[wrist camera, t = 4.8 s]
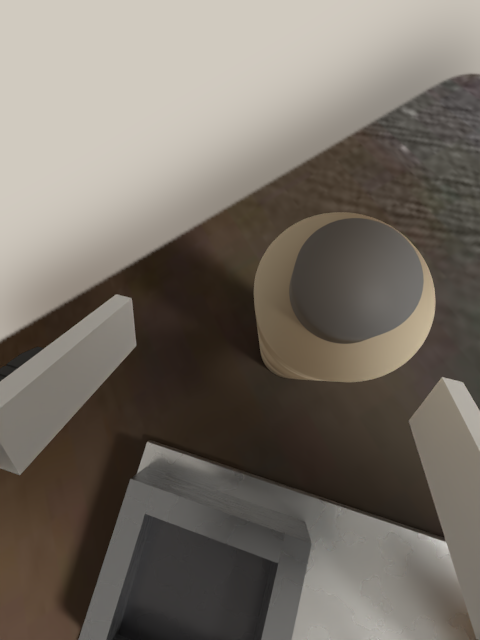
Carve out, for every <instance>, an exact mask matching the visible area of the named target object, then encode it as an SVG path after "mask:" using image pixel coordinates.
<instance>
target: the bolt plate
mask: <svg viewBox="0 0 480 640" xmlns="http://www.w3.org/2000/svg"><path fill="white" fill-rule="evenodd" d="M78 640H478V639H476V636H475V633H474V630H473V627H472V624H471V620H470V617H469V614H468V611H467V607H466V604H465V601H464V598H463V595H462V591H461V588H460V585H459V582H458V578H457V575H456V572H455V569H454V566H453V562H452V559H451V556H450V553H449V549H448V546H447V543H446V540H445V538H443V537H440V536H437V535H434V534H431V533H428V532H425V531H422V530H419V529H416V528H413V527H410V526H407V525H404V524H401V523H398V522H395V521H392V520H389V519H386V518H383V517H380V516H377V515H374V514H371V513H368V512H365V511H362V510H359V509H356V508H353V507H350V506H347V505H344V504H341V503H338V502H335V501H332V500H329V499H326V498H323V497H320V496H317V495H314V494H311V493H308V492H305V491H302V490H299V489H296V488H293V487H290V486H287V485H284V484H281V483H278V482H275V481H272V480H269V479H266V478H263V477H260V476H257V475H254V474H251V473H248V472H245V471H242V470H239V469H236V468H233V467H230V466H227V465H224V464H221V463H218V462H215V461H212V460H209V459H206V458H203V457H200V456H197V455H194V454H191V453H188V452H185V451H182V450H179V449H176V448H173V447H170V446H167V445H164V444H161V443H158V442H155V441H152V440H149V441H148V442H147V444H146V447H145V450H144V453H143V456H142V459H141V462H140V466H139V469H138V472H137V474H136V475H135V476H133V477H132V478H131V479H130V482H129V485H128V488H127V491H126V494H125V497H124V500H123V503H122V506H121V509H120V513H119V516H118V519H117V522H116V525H115V528H114V531H113V534H112V537H111V540H110V544H109V547H108V550H107V553H106V556H105V559H104V562H103V565H102V568H101V571H100V574H99V578H98V581H97V584H96V587H95V590H94V593H93V596H92V599H91V602H90V605H89V609H88V612H87V615H86V618H85V621H84V624H83V627H82V630H81V633H80V636H79V639H78Z"/></svg>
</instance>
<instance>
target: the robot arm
mask: <svg viewBox="0 0 480 640" xmlns="http://www.w3.org/2000/svg"><path fill="white" fill-rule="evenodd" d="M135 347H136V336H135V325H134V315H133V305H132V298H129V297H125V296H121V295H117V294H116V295H115V296H113V297H112V298H111V299H109V300H108V301H107V302H105V303H104V304H103V305H101V306H100V307H99V308H97V309H96V310H95V311H93V312H92V313H91V314H89V315H88V316H87V317H85V318H84V319H83V320H81V321H80V322H79V323H77V324H76V325H75V326H73V327H72V328H71V329H69V330H68V331H67V332H65V333H64V334H63V335H61V336H60V337H59V338H57V339H56V340H55V341H53V342H52V343H51V344H50V345H48V346H47V347H46V348H41V347H36V348H34V349H31V350H29V351H27V352H24V353H22V354H20V355H19V356H17V357H16V358H14V359H13V360H12V361H10V362H9V363H7V365H6V366H3V367H2V368H0V468H1V469H4V470H7V471H9V472H12V473H15V474H18V475H21V474H22V472H23V471H24V470H25V469H26V468H27V467H28V466H29V465H30V464H31V462H32V461H33V460H34V459H35V458H36V457H37V456H38V455H39V454H40V452H41V451H42V450H43V449H44V448H45V447H46V446H47V445H48V444H49V442H50V441H51V440H52V439H53V438H54V437H55V436H56V435H57V434H58V432H59V431H60V430H61V429H62V428H63V427H64V426H65V425H66V424H67V422H68V421H69V420H70V419H71V418H72V417H73V416H74V415H75V413H76V412H77V411H78V410H79V409H80V408H81V407H82V406H83V405H84V403H85V402H86V401H87V400H88V399H89V398H90V397H91V396H92V395H93V393H94V392H95V391H96V390H97V389H98V388H99V387H100V386H101V385H102V383H103V382H104V381H105V380H106V379H107V378H108V377H109V376H110V375H111V373H112V372H113V371H114V370H115V369H116V368H117V367H118V366H119V365H120V363H121V362H122V361H123V360H124V359H125V358H126V357H127V356H128V355H129V353H130V352H131V351H132V350H133V349H134V348H135ZM409 424H410V427H411V430H412V433H413V437H414V440H415V443H416V446H417V450H418V453H419V456H420V459H421V462H422V466H423V469H424V472H425V475H426V479H427V482H428V485H429V488H430V491H431V495H432V498H433V501H434V504H435V508H436V511H437V514H438V517H439V520H440V524H441V527H442V530H443V533H444V537H445V540H446V543H447V546H448V549H449V553H450V556H451V559H452V562H453V566H454V569H455V572H456V575H457V578H458V582H459V585H460V588H461V591H462V595H463V598H464V601H465V604H466V607H467V611H468V614H469V617H470V620H471V624H472V627H473V630H474V633H475V636H476V639H478V640H480V411H479V409H478V407H477V405H476V404H475V402H474V400H473V399H472V397H471V395H470V393H469V392H468V390H467V388H466V387H465V385H464V383H463V382H459V381H456V380H452V379H448V378H444V377H442V378H441V379H440V380H439V382H438V383H437V384H436V386H435V387H434V388H433V390H432V391H431V392H430V394H429V395H428V396H427V397H426V399H425V400H424V401H423V403H422V404H421V405H420V407H419V408H418V409H417V411H416V412H415V413H414V414H413V416H412V417H411V418H410V420H409Z"/></svg>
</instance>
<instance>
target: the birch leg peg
mask: <svg viewBox="0 0 480 640" xmlns="http://www.w3.org/2000/svg"><path fill="white" fill-rule="evenodd" d="M254 305H255V313H256V321H257V329H258V337H259V345H260V353H261V357H262V360H263V362H264V364H265V365H266V367H267V368H268V369H269V370H270V371H271V372H272V373H274V374H275V375H277V376H279V377H282V378H286V379H301V380H318V381H335V382H360V381H366V380H371V379H375V378H378V377H381V376H384V375H386V374H388V373H390V372H392V371H394V370H396V369H397V368H399V367H400V366H402V365H403V364H405V363H406V362H407V361H408V360H409V359H410V358H411V357H412V356H413V355H414V354H415V353H416V352H417V351H418V349H419V348H420V347H421V346H422V344H423V342H424V341H425V339H426V337H427V336H428V333H429V331H430V328H431V326H432V322H433V318H434V313H435V290H434V285H433V280H432V277H431V274H430V271H429V268H428V266H427V265H426V263H425V261H424V259H423V257H422V256H421V254H420V253H419V251H418V250H417V249H416V247H415V246H414V245H413V244H412V243H411V242H410V241H409V240H408V239H407V238H406V237H405V236H404V235H403V234H401V233H400V232H399V231H397V230H396V229H394V228H393V227H391V226H390V225H388V224H386V223H384V222H382V221H380V220H377V219H374V218H372V217H369V216H365V215H361V214H355V213H348V212H334V213H325V214H320V215H315V216H312V217H309V218H306V219H304V220H302V221H300V222H298V223H296V224H294V225H292V226H291V227H289V228H288V229H286V230H285V231H284V232H283V233H281V234H280V235H279V236H278V237H277V238H276V239H275V240H274V241H273V242H272V243H271V245H270V246H269V248H268V249H267V250H266V252H265V254H264V255H263V257H262V259H261V261H260V264H259V266H258V269H257V272H256V277H255V282H254Z"/></svg>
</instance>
